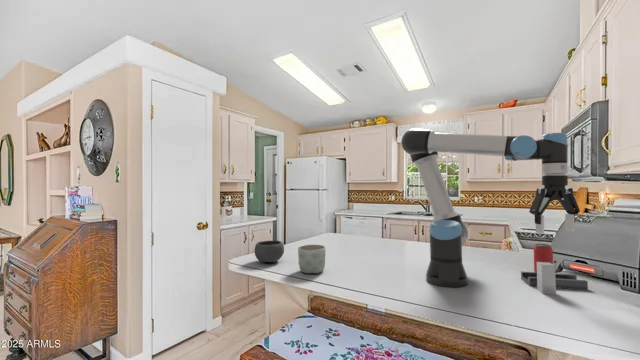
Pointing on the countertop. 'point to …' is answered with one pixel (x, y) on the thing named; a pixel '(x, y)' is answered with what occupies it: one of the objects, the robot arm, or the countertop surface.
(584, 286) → the dark grey tray
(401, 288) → the countertop surface
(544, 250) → the beer can
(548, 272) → the grey rectangular block
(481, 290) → the countertop surface
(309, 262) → the planter
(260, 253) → the bowl
